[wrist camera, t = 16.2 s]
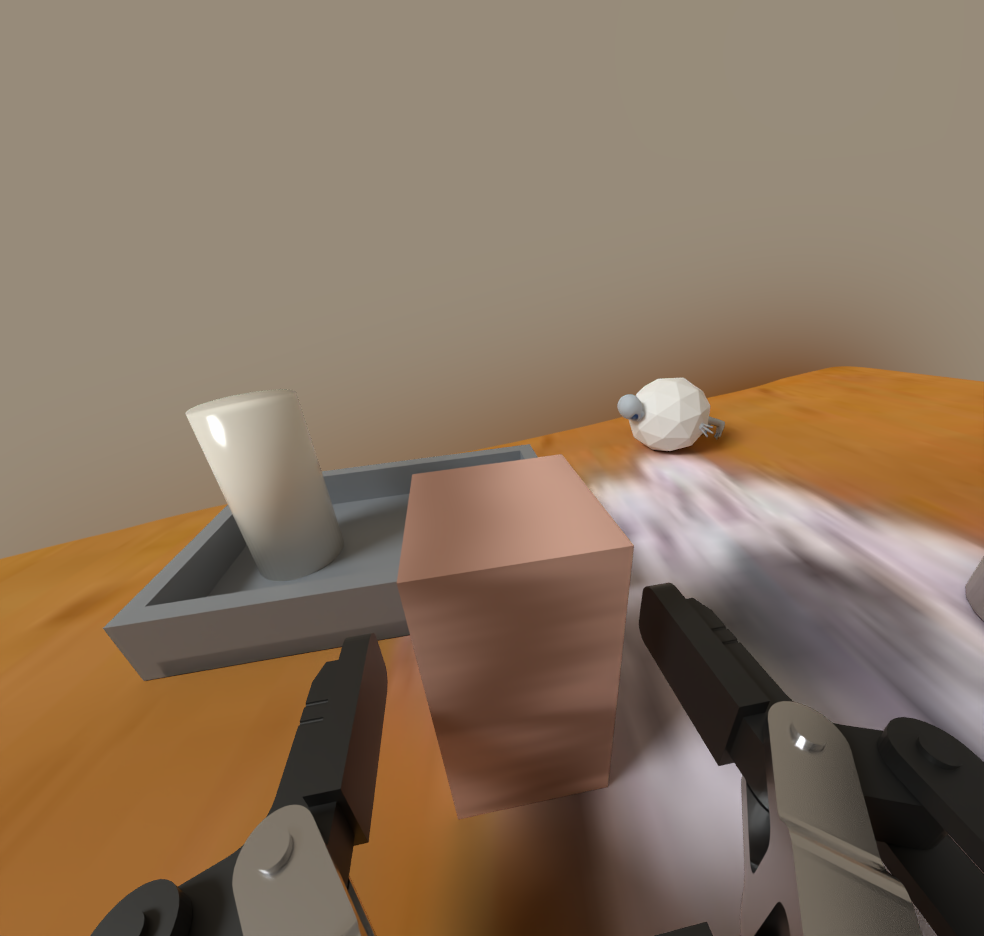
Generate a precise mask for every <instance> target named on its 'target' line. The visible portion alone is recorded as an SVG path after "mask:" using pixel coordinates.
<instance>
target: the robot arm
mask: <svg viewBox="0 0 984 936" xmlns="http://www.w3.org/2000/svg"><path fill="white" fill-rule="evenodd" d="M965 588H966V598H967V599H968V601H969V603H970V604H971V606H972V608H973V610H974V611H975V612H976V613H977V615H978V616H979V617H980V618H981V619H982V620H983V621H984V557H983V559H982V560H981V562H980V563H979V565H978V567H977V568H976V570H975V571H974V573H973V575H972V576H971V578H970V579H969V581H968V583H967V584H966V586H965ZM639 629H640V633H641V636H642V639H643V641H644V643H645V645H646V647H647V648H648V650H649V652H650V653H651V655H652V657H653V658H654V660H655V662H656V663H657V665H658V667H659V668H660V670H661V671H662V673H663V675H664V676H665V678H666V680H667V681H668V683H669V685H670V686H671V688H672V690H673V691H674V693H675V695H676V696H677V698H678V700H679V701H680V703H681V705H682V706H683V708H684V710H685V711H686V713H687V715H688V716H689V718H690V720H691V721H692V723H693V724H694V726H695V728H696V729H697V731H698V733H699V734H700V736H701V738H702V739H703V741H704V743H705V744H706V746H707V748H708V749H709V751H710V753H711V754H712V756H713V758H714V759H715V761H716V763H717V764H718V766H721V765H726V764H730V763H735V764H736V766H737V767H738V769H739V770H740V772H741V773H742V778H741V794H742V820H743V846H744V888H743V894H742V900H741V912H740V936H922V934H921V930H920V927H919V924H918V920H917V917H916V914H915V911H914V908H913V905H912V902H913V903H914V905H915V906H916V907H917V909H918V910H919V911H920V913H921V914H922V915H923V917H924V918H925V919H926V921H927V922H928V923H929V925H930V926H931V927H932V929H933V930H934V931H935V933H936V934H937V935H938V936H984V874H983V873H982V872H981V871H980V869H981V870H982V871H983V872H984V762H983V761H982V760H981V759H980V758H978V757H977V756H976V755H975V754H974V753H973V752H972V751H971V750H970V749H968V748H967V747H966V746H965V745H964V744H962V743H961V742H960V741H958V740H957V739H955V738H954V737H953V736H951V735H949V734H948V733H946V732H945V731H943V730H941V729H939V728H937V727H935V726H933V725H931V724H928V723H926V722H923V721H920V720H917V719H913V718H906V717H901V718H895V719H893V720H891V721H890V722H889V724H888V725H887V727H886V728H885V730H884V731H880V730H873V729H866V728H859V727H853V726H846V725H840V724H835V723H832V722H831V721H830V720H828V719H827V718H826V717H825V716H823V715H822V714H820V713H819V712H817V711H815V710H814V709H812V708H810V707H808V706H805V705H803V704H800V703H796V702H793V701H792V700H791V699H790V698H789V697H788V696H787V695H786V694H785V693H784V692H783V691H782V690H781V688H780V687H779V686H778V685H777V684H776V683H775V682H774V680H773V679H772V678H771V677H770V676H769V675H768V674H767V673H766V671H765V670H764V669H763V668H762V667H761V666H760V665H759V663H758V662H757V661H756V660H755V659H754V658H753V657H752V656H751V654H750V653H749V652H748V651H747V650H746V649H745V648H744V646H743V645H742V644H741V643H738V641H737V639H736V637H735V636H734V635H733V634H732V633H731V632H730V631H729V629H726V627H725V625H724V624H723V623H722V622H721V620H720V619H719V618H718V617H717V616H716V615H715V614H714V612H713V611H712V610H711V609H709V608H708V607H706V606H705V605H703V604H702V603H700V602H699V601H697V600H696V599H694V598H689V599H685V597H684V596H683V595H682V594H681V593H680V591H679V590H678V589H677V588H676V587H675V586H674V585H673V584H672V583H664V584H658V585H653V586H647V587H645V588H644V589H643V594H642V601H641V609H640V617H639ZM386 696H387V671H386V666H385V663H384V660H383V657H382V654H381V651H380V647H379V644H378V641H377V638H376V635H375V634H374V633H370V634H364V635H358V636H353V637H347V638H346V639H345V640H344V642H343V646H342V649H341V653H340V657H339V660H335V661H330V662H326V663H325V665H324V666H323V668H322V669H321V670H320V672H319V673H318V675H317V676H316V678H315V679H314V680H313V682H312V685H311V688H310V691H309V694H308V697H307V701H306V707H305V708H304V710H303V713H302V716H301V719H300V726H298V729H297V732H296V735H295V738H294V741H293V744H292V747H291V751H290V754H289V757H288V760H287V763H286V766H285V769H284V772H283V776H282V779H281V782H280V785H279V788H278V791H277V794H276V797H275V800H274V803H273V805H272V807H271V809H270V811H269V813H268V815H267V817H266V818H265V819H264V820H263V821H262V822H261V823H260V824H259V825H258V826H257V827H256V828H255V829H254V831H253V832H252V833H251V835H250V836H249V837H248V839H247V840H246V842H245V844H244V845H243V846H242V847H241V848H239V849H238V850H237V851H236V852H234V853H233V854H231V855H230V856H228V857H227V858H225V859H224V860H222V861H220V862H219V863H217V864H215V865H214V866H212V867H210V868H209V869H207V870H205V871H203V872H202V873H200V874H198V875H197V876H195V877H193V878H192V879H190V880H188V881H187V882H185V883H183V884H182V885H180V886H178V887H177V886H176V885H175V884H174V883H173V882H171V881H169V880H165V879H159V880H154V881H151V882H149V883H146V884H144V885H142V886H140V887H139V888H137V889H135V890H134V891H133V892H131V893H130V894H128V895H127V896H126V897H125V898H124V899H122V900H121V901H120V902H119V903H118V904H117V905H116V906H115V907H114V908H113V909H112V910H111V911H110V912H109V913H108V914H107V915H106V916H105V918H104V919H103V920H102V921H101V922H100V924H99V925H98V926H97V927H96V929H95V930H94V931H93V933H92V934H91V936H377V935H376V933H375V931H374V929H373V927H372V924H371V922H370V920H369V918H368V915H367V913H366V911H365V909H364V907H363V904H362V902H361V900H360V898H359V896H358V893H357V891H356V889H355V887H354V884H353V882H352V880H351V878H350V876H349V872H350V865H351V858H352V852H353V846H355V845H359V844H364V843H368V842H369V834H370V825H371V817H372V809H373V801H374V793H375V785H376V777H377V769H378V761H379V753H380V744H381V736H382V728H383V720H384V712H385V704H386ZM948 834H949V835H950V836H951V837H952V838H953V839H954V840H955V842H956V843H957V844H958V845H959V846H960V847H961V848H962V849H963V850H964V851H965V853H966V854H967V855H968V856H969V857H970V858H971V859H972V860H973V861H974V862H975V864H976V865H977V866H978V867H979V868H980V869H979V868H978V867H977V866H976V865H975V864H974V863H973V862H972V861H971V860H970V858H969V857H968V856H967V855H966V854H965V853H964V852H963V851H962V850H961V848H960V847H959V846H958V845H957V844H956V843H955V842H954V841H953V840H952V838H951V837H950V836H949V835H948ZM881 860H882V861H881ZM882 862H883V863H884V864H885V866H886V867H887V868H888V870H889V871H890V872H891V874H890V873H888V872H887V870H886V869H885V867H884V866H883V863H882ZM911 901H912V902H911ZM655 936H713V935H712V933H711V930H710V928H709V926H708V923H707V922H704V923H700V924H697V925H693V926H689V927H685V928H682V929H678V930H674V931H670V932H667V933H663V934H659V935H655Z"/></svg>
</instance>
